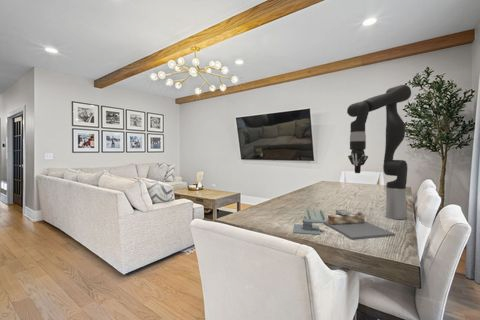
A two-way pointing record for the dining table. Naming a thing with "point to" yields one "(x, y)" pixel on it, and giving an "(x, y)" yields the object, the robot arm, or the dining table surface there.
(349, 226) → the base plate
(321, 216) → the metal bracket
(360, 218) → the brass latch lever
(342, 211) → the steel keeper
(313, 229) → the shower valve
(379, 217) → the dining table surface
